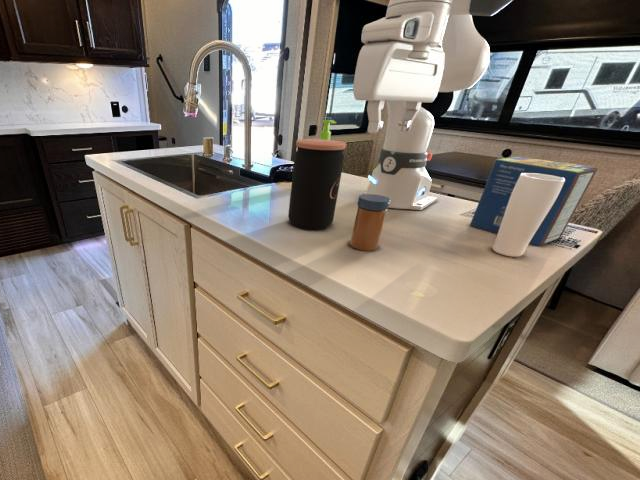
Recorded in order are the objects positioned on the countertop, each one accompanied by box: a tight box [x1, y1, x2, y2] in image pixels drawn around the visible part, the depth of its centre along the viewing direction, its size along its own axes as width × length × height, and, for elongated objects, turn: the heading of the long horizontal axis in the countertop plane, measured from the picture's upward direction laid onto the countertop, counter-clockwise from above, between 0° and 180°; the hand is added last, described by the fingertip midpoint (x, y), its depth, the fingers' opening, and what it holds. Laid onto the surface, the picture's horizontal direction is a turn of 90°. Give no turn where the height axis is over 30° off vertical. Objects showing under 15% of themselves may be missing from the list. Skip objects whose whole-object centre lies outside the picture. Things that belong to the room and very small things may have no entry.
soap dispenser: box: [319, 119, 337, 140], centre depth 113 cm, size 6×7×20 cm
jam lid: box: [357, 193, 390, 211], centre depth 66 cm, size 6×6×2 cm
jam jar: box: [349, 205, 388, 252], centre depth 68 cm, size 5×5×9 cm
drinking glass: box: [491, 173, 565, 258], centre depth 65 cm, size 7×7×15 cm
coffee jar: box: [287, 138, 347, 231], centre depth 77 cm, size 11×11×18 cm
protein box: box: [469, 156, 599, 247], centre depth 76 cm, size 10×15×16 cm
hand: (389, 132), depth 59 cm, fingers open, 8 cm apart
